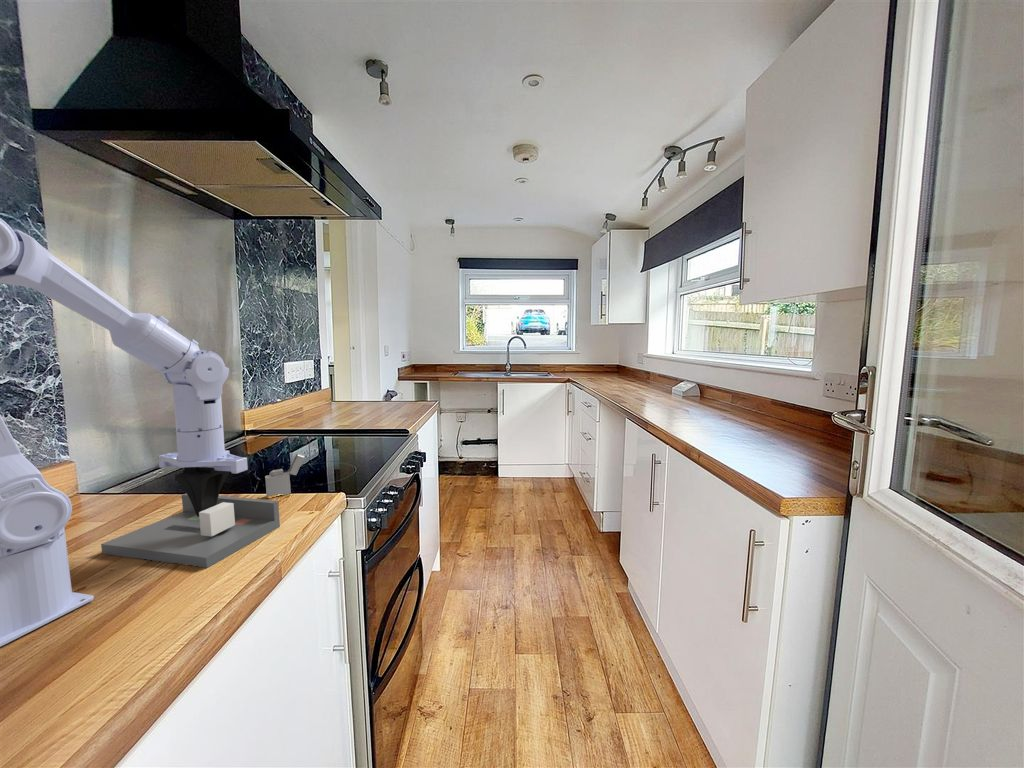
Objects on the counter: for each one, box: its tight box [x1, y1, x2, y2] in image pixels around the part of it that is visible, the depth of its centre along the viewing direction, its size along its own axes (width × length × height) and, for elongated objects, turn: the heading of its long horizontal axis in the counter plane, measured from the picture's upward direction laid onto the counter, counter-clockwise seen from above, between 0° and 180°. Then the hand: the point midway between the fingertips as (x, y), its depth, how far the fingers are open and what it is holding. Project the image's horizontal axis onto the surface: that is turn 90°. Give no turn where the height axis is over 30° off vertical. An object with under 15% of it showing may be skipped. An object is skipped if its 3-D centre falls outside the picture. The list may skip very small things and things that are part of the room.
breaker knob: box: [199, 502, 235, 536], centre depth 62 cm, size 4×2×4 cm, turn 168°
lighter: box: [264, 452, 305, 498], centre depth 83 cm, size 7×2×8 cm, turn 127°
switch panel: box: [100, 492, 281, 569], centre depth 63 cm, size 13×19×4 cm
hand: (206, 514), depth 63 cm, fingers closed
